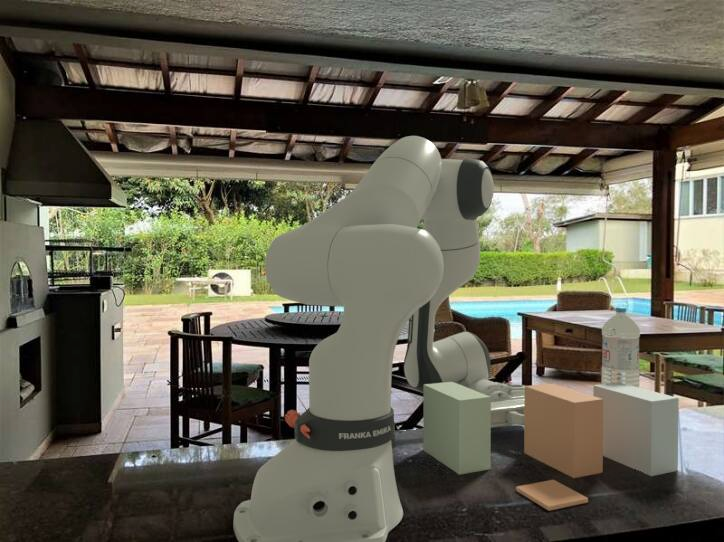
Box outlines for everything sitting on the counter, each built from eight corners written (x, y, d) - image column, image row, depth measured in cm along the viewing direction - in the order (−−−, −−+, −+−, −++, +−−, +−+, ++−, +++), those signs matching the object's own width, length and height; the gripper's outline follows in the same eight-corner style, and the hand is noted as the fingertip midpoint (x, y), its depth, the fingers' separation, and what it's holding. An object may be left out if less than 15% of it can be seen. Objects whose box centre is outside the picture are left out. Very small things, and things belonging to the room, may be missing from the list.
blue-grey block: (651, 476, 86) (651, 401, 86) (592, 451, 97) (593, 385, 97) (677, 470, 88) (678, 397, 88) (617, 447, 99) (618, 382, 99)
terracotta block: (573, 478, 85) (574, 402, 85) (524, 453, 96) (524, 386, 96) (602, 472, 87) (603, 399, 87) (550, 448, 98) (551, 383, 98)
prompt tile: (548, 510, 74) (548, 506, 74) (516, 490, 80) (516, 486, 80) (588, 502, 76) (588, 498, 76) (553, 483, 83) (553, 479, 83)
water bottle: (635, 440, 103) (636, 309, 102) (597, 433, 107) (598, 307, 106) (642, 431, 108) (643, 307, 108) (605, 425, 112) (606, 305, 112)
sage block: (459, 474, 87) (459, 400, 86) (423, 450, 98) (423, 384, 97) (490, 469, 89) (490, 396, 89) (452, 446, 100) (452, 381, 100)
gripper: (446, 392, 107) (487, 410, 94) (530, 384, 114) (578, 399, 101) (446, 424, 107) (487, 446, 94) (529, 413, 114) (578, 433, 102)
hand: (535, 422), depth 98 cm, fingers closed
